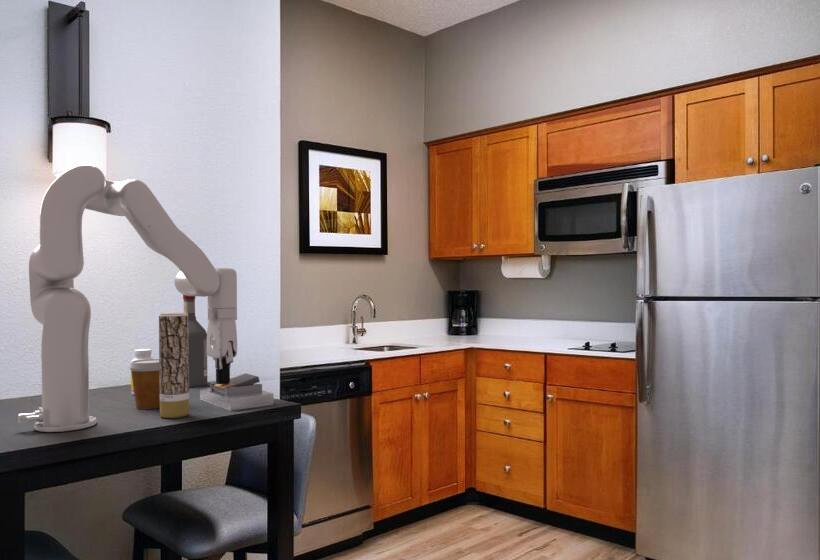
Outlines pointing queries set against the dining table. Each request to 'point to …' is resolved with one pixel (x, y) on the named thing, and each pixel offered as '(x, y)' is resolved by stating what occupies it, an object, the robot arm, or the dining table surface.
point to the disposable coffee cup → (146, 383)
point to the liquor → (196, 346)
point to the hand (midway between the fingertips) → (222, 383)
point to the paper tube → (174, 364)
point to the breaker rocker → (236, 382)
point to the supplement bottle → (140, 355)
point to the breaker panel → (237, 397)
